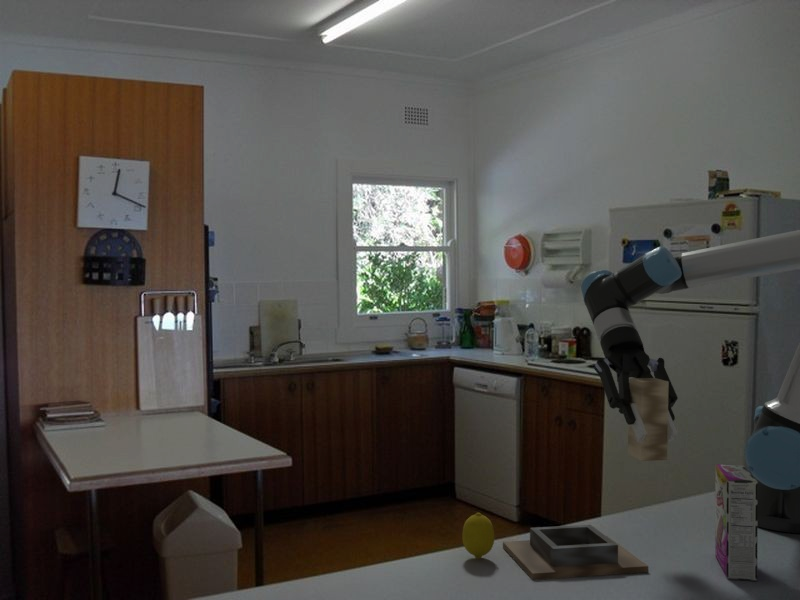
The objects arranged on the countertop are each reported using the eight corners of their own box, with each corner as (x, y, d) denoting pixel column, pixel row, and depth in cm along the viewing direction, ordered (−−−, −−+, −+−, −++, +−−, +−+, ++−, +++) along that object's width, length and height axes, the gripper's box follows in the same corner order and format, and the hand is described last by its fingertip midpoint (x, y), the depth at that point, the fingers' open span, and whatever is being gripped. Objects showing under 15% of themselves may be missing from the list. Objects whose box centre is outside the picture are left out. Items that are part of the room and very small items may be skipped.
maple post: (653, 453, 150) (655, 378, 149) (667, 460, 145) (668, 381, 144) (628, 454, 149) (629, 378, 148) (640, 460, 144) (642, 382, 143)
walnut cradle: (607, 541, 150) (607, 519, 150) (648, 572, 134) (648, 548, 134) (502, 547, 147) (503, 525, 147) (532, 579, 131) (532, 554, 131)
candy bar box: (712, 556, 142) (714, 463, 142) (743, 558, 141) (744, 464, 141) (725, 580, 131) (726, 478, 131) (758, 582, 130) (759, 480, 130)
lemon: (500, 558, 141) (500, 512, 141) (481, 566, 137) (481, 519, 137) (475, 551, 145) (475, 506, 144) (455, 558, 141) (455, 513, 140)
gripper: (654, 349, 163) (696, 448, 147) (569, 349, 160) (602, 451, 144) (668, 324, 157) (713, 424, 142) (580, 324, 154) (616, 426, 139)
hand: (657, 437), depth 143 cm, fingers closed on maple post, 5 cm apart
